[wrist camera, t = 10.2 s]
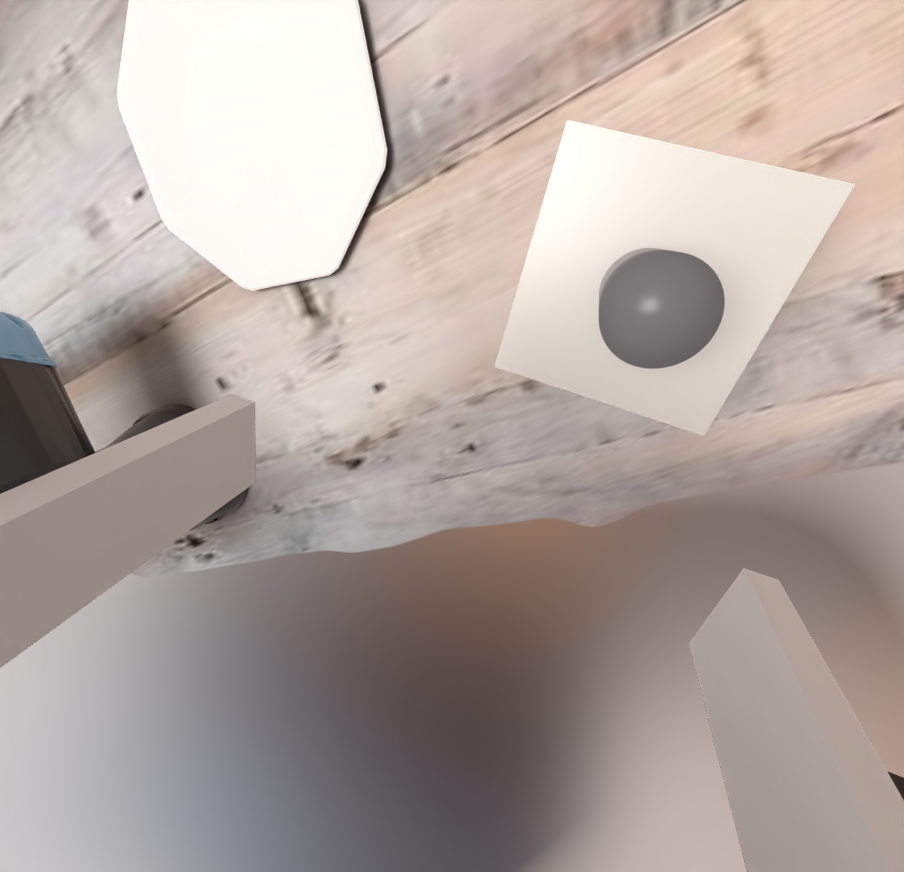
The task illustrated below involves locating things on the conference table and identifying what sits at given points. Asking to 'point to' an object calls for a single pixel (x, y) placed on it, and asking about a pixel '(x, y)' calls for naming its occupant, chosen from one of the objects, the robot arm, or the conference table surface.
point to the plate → (255, 129)
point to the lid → (659, 271)
